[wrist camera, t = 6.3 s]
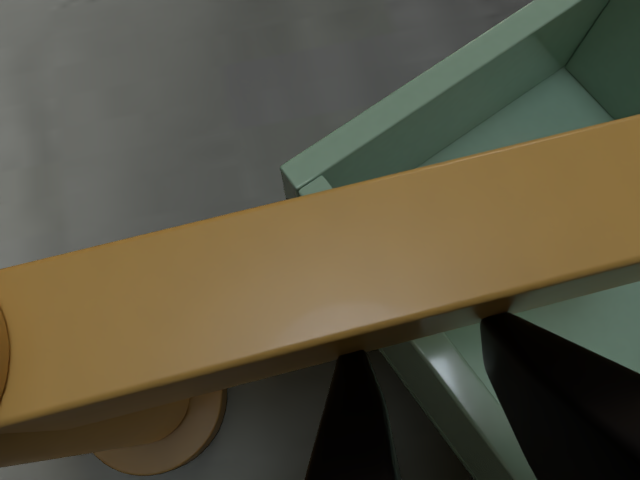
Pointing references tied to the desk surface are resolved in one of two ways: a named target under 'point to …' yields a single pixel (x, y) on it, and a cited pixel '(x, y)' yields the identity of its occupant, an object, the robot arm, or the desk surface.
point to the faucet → (306, 285)
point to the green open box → (483, 135)
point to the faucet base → (173, 440)
